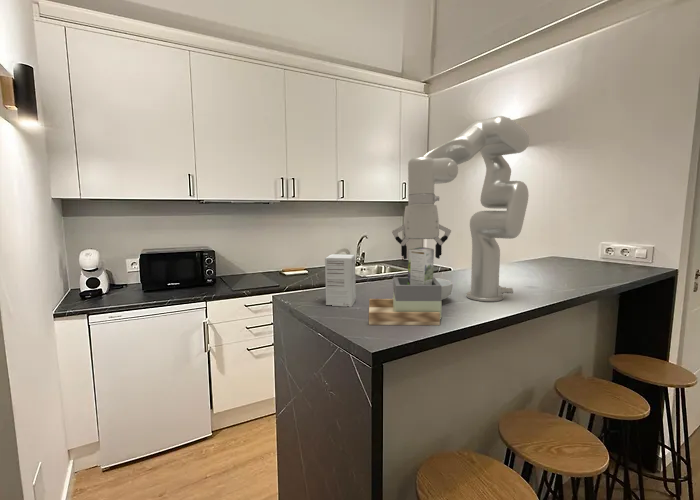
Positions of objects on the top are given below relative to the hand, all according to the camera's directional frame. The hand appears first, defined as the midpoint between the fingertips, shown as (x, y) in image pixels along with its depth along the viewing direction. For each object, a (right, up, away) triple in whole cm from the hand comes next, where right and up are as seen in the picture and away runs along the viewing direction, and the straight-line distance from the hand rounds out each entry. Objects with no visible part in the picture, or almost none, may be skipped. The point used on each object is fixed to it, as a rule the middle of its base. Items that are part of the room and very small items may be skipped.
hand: (421, 258), depth 109 cm
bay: (-6, -18, +2) cm, 19 cm away
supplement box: (-25, -17, +19) cm, 35 cm away
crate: (-1, -16, +2) cm, 17 cm away
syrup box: (0, -12, +1) cm, 12 cm away
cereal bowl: (+7, -16, +21) cm, 27 cm away
